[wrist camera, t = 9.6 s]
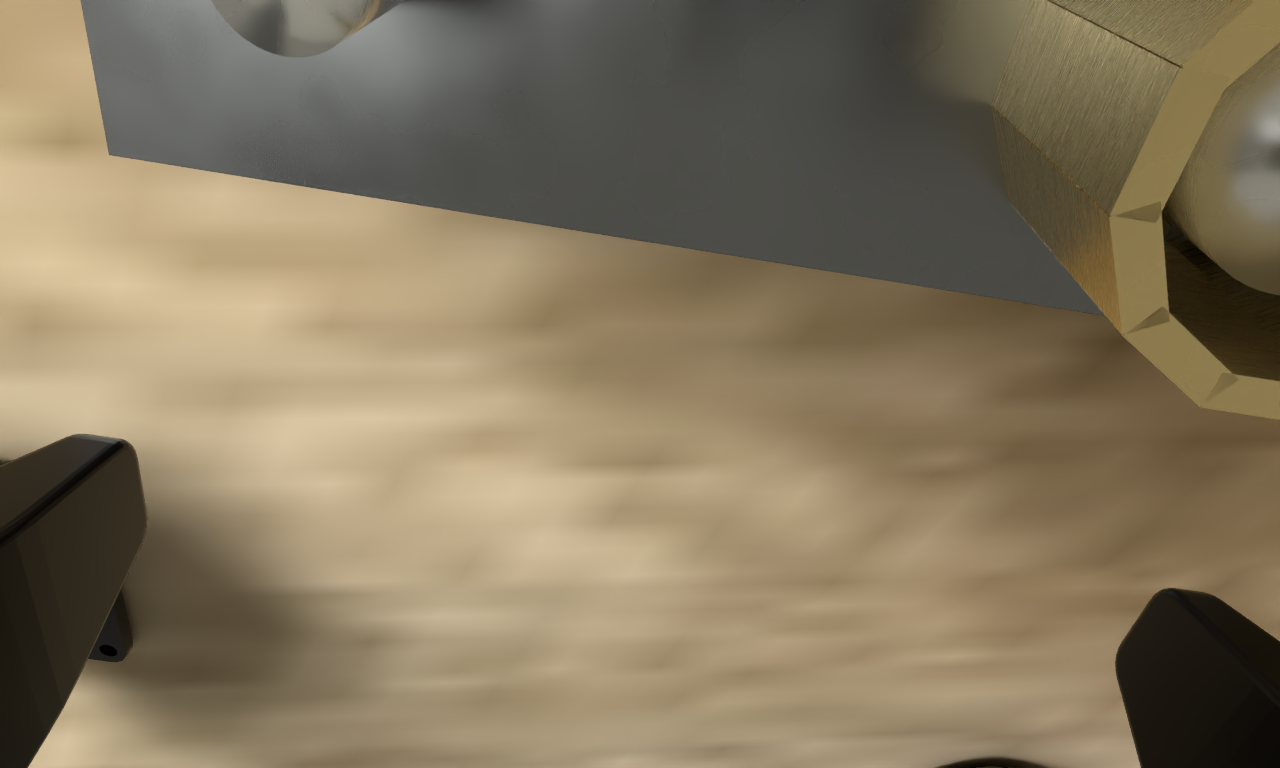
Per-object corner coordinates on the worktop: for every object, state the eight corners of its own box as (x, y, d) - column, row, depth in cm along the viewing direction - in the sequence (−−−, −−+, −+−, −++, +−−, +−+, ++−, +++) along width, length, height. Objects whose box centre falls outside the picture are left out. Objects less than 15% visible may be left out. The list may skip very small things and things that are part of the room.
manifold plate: (1289, 316, 19) (1487, 480, 14) (150, 130, 17) (-41, 243, 13) (1607, -178, 14) (2073, -176, 9) (55, -484, 13) (-307, -655, 8)
